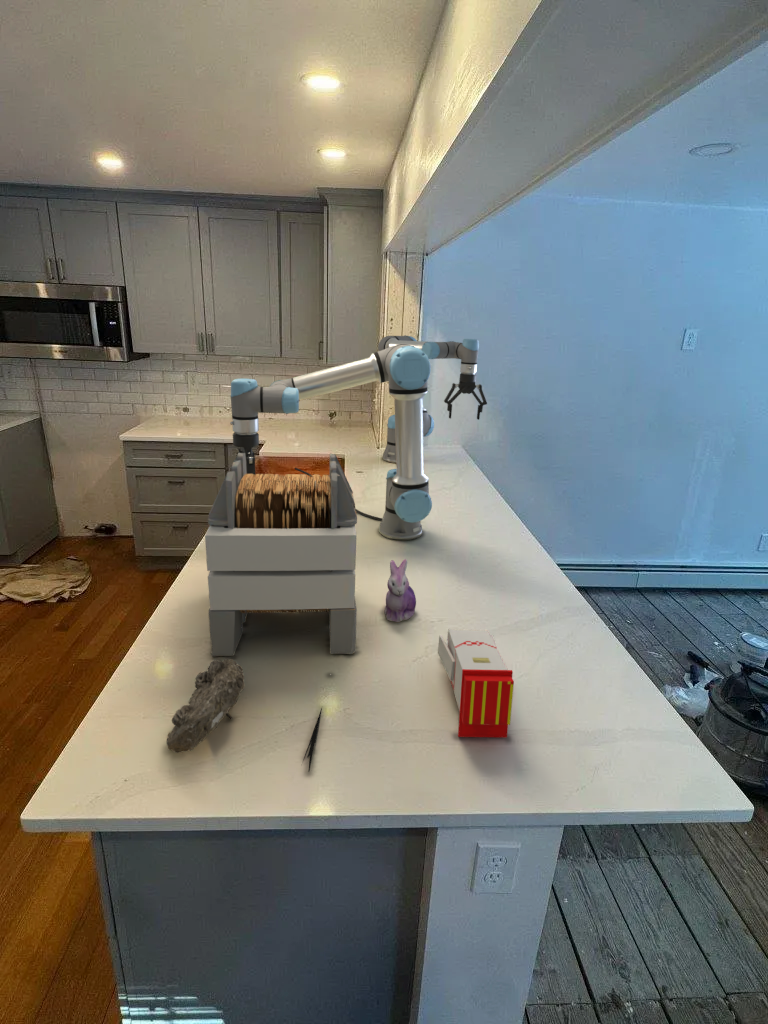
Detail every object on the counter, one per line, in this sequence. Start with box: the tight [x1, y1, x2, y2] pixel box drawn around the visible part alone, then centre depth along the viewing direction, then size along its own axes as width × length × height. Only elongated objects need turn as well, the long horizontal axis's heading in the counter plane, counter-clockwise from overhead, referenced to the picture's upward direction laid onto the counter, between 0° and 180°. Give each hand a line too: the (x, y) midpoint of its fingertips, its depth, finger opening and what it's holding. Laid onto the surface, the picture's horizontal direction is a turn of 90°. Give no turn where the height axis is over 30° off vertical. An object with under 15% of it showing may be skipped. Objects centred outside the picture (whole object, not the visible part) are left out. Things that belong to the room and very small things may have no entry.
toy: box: [437, 628, 515, 738], centre depth 117 cm, size 12×13×30 cm
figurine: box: [384, 558, 417, 623], centre depth 145 cm, size 9×10×15 cm
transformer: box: [204, 451, 358, 658], centre depth 136 cm, size 34×33×41 cm
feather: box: [301, 673, 332, 771], centre depth 108 cm, size 2×28×2 cm
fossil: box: [166, 658, 245, 754], centre depth 106 cm, size 22×10×15 cm
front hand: (248, 505), depth 176 cm, fingers closed on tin, 7 cm apart
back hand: (463, 418), depth 272 cm, fingers open, 13 cm apart
